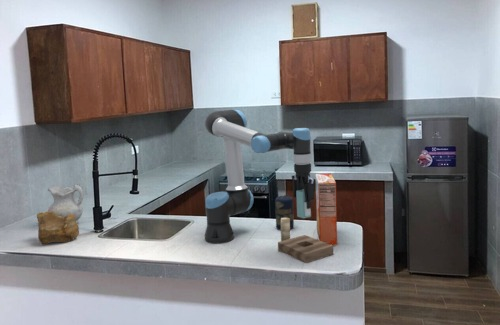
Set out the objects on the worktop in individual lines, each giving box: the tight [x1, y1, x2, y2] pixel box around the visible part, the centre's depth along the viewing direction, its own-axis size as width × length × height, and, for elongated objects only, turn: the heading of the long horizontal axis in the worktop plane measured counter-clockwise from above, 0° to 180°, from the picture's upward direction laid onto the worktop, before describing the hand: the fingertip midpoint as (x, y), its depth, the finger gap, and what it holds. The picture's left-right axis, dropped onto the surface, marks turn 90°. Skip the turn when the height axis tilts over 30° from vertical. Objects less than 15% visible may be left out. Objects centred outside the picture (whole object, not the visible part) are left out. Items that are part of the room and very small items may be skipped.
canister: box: [274, 194, 295, 230], centre depth 243 cm, size 10×10×18 cm
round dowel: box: [280, 218, 291, 241], centre depth 220 cm, size 4×4×12 cm
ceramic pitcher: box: [47, 184, 84, 225], centre depth 269 cm, size 22×20×25 cm
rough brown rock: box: [36, 210, 80, 245], centre depth 240 cm, size 23×17×15 cm
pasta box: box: [315, 173, 338, 246], centre depth 225 cm, size 23×8×30 cm, turn 175°
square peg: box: [295, 188, 312, 219], centre depth 204 cm, size 4×4×12 cm
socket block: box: [277, 234, 334, 264], centre depth 207 cm, size 20×16×4 cm
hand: (304, 214), depth 204 cm, fingers closed on square peg, 4 cm apart
